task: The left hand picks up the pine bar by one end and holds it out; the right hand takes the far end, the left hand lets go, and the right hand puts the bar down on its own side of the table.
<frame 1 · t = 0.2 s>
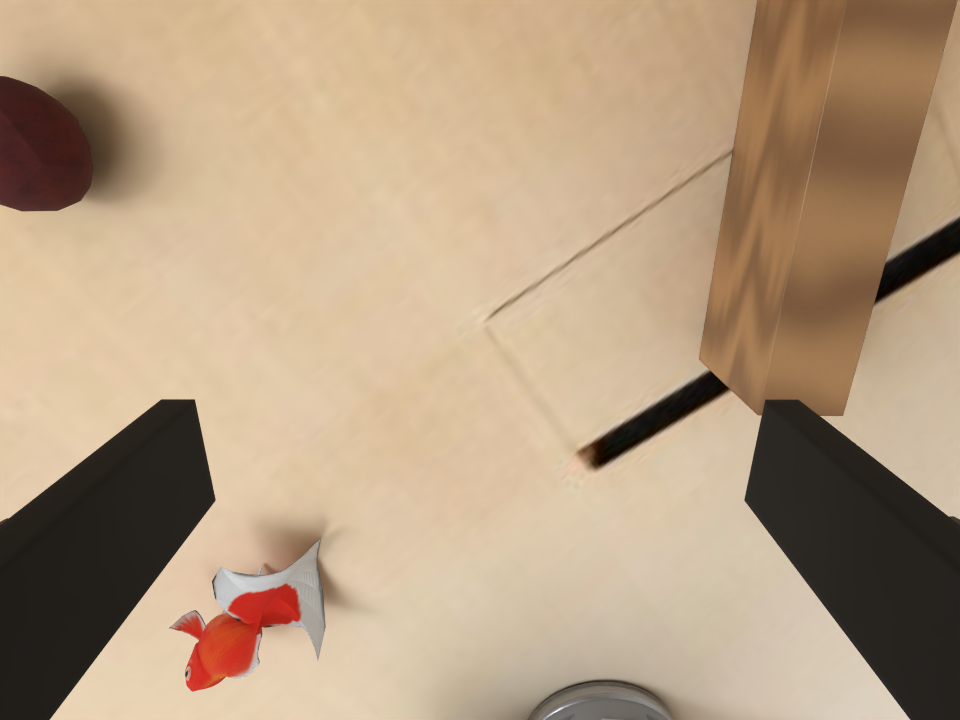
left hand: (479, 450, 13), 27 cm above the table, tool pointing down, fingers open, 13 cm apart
bar: (768, 164, 36), on the table
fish: (271, 576, 49), on the table
dark red round piece: (62, 149, 36), on the table
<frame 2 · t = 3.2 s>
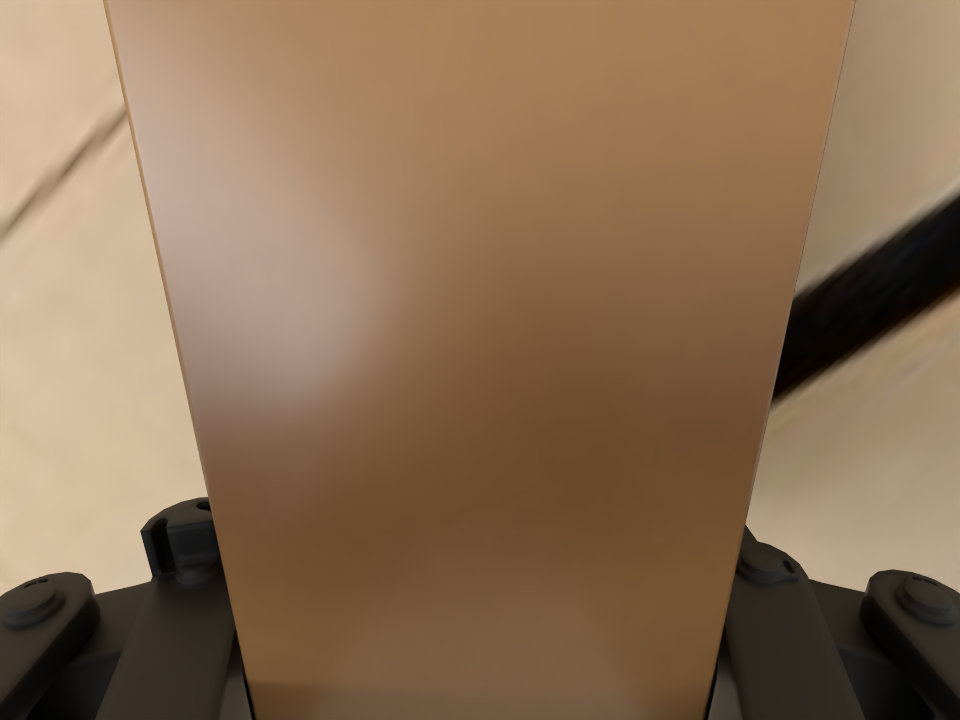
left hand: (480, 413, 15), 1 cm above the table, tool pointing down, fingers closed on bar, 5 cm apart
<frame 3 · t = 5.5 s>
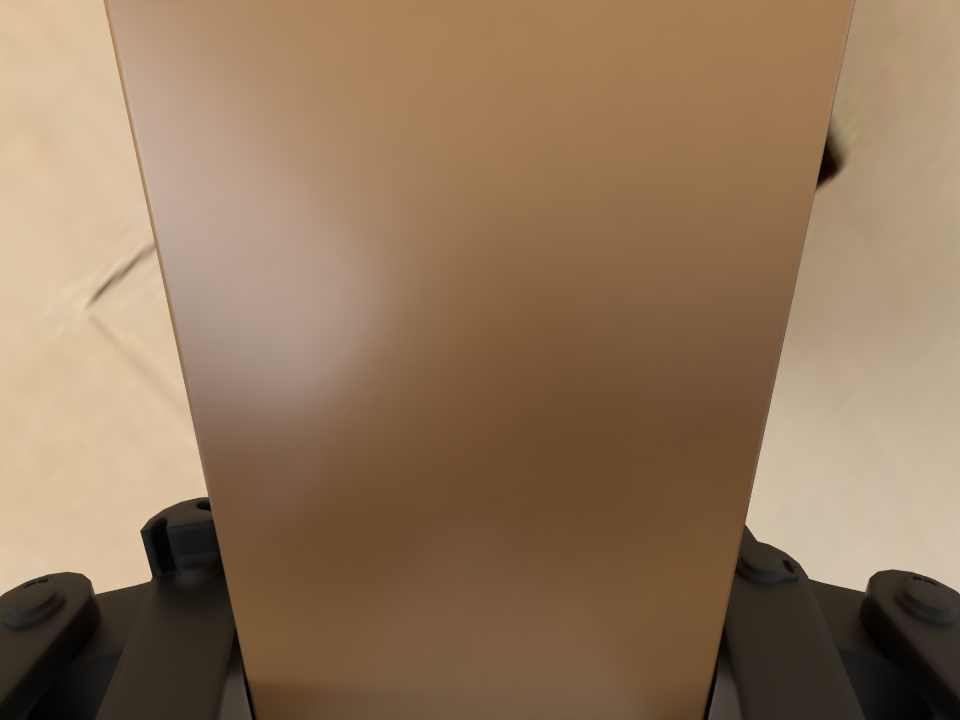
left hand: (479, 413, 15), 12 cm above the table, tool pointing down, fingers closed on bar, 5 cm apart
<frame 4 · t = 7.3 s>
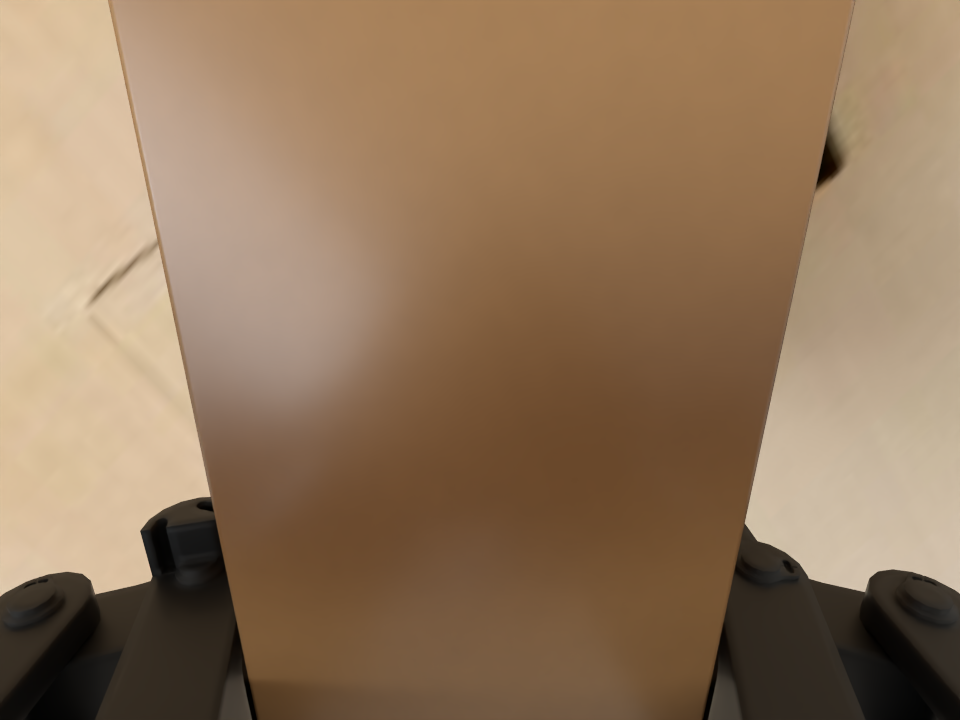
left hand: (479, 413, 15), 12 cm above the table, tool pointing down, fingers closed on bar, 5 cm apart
when the left hand's fingers open (12 cm above the table, at t = 8.1 s): bar stays where it is, held by the right hand.
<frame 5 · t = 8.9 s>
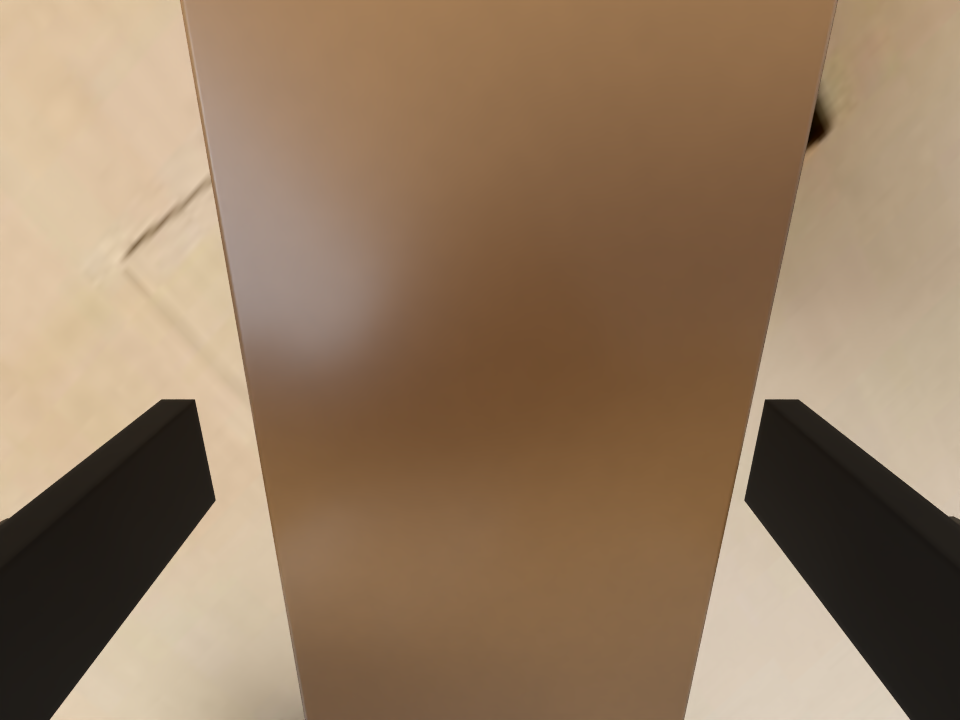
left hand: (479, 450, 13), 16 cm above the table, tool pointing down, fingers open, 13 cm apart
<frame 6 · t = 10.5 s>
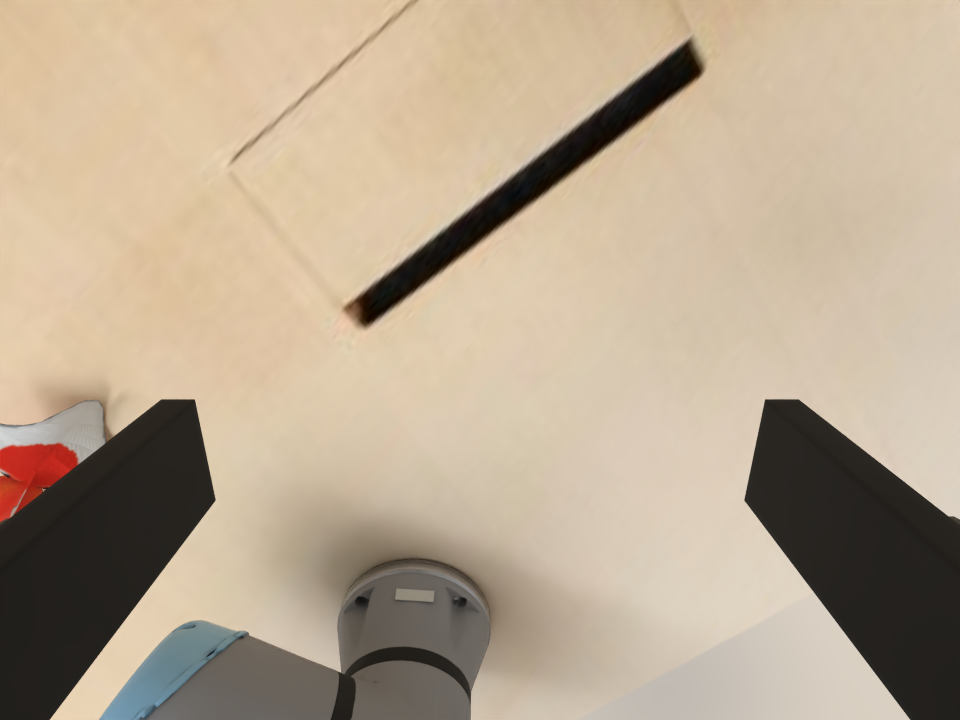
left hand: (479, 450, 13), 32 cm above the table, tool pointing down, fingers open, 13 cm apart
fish: (63, 447, 49), on the table
when the right hand's fingers open (7 cm above the table, at t = 14.2 s): bar drops 2 cm, on the table.
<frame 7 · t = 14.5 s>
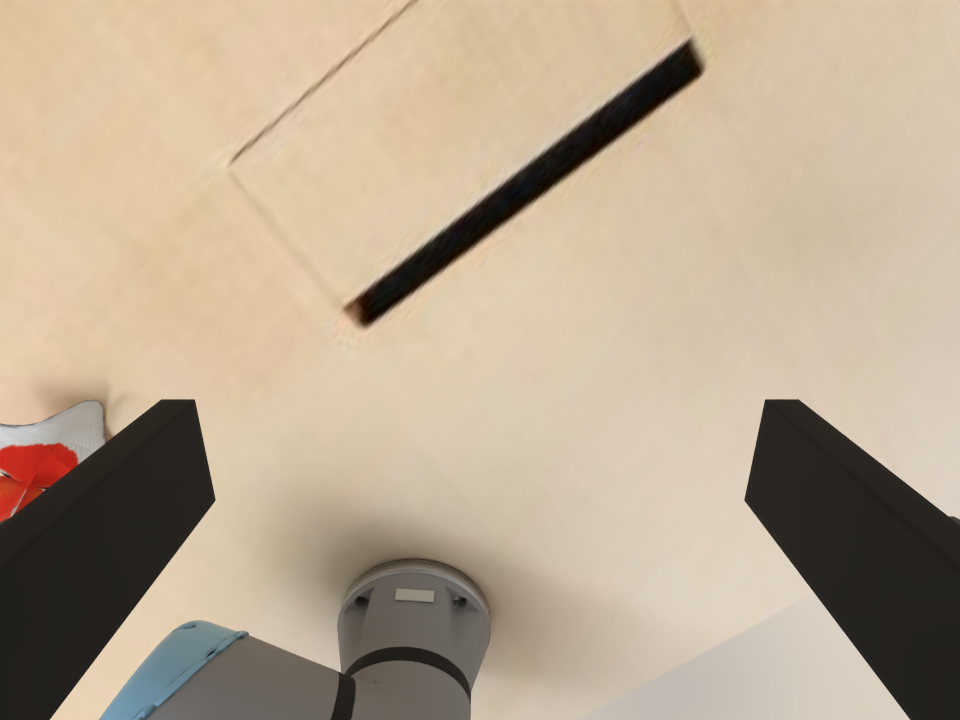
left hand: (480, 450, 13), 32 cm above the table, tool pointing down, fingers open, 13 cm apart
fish: (63, 447, 49), on the table
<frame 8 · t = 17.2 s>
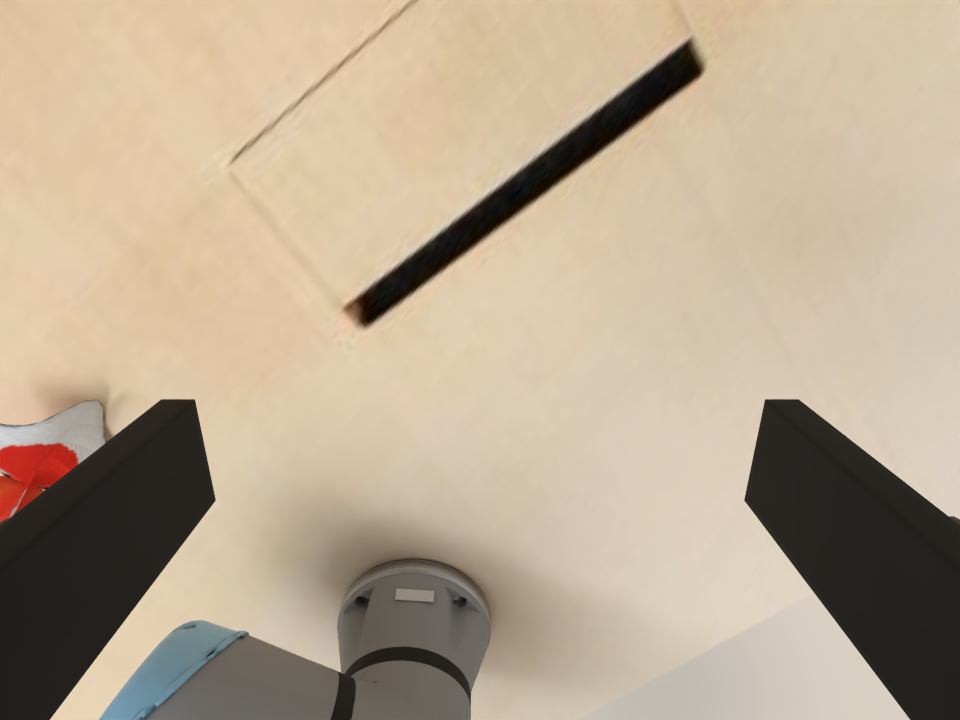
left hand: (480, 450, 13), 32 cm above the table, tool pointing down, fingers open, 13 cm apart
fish: (63, 447, 49), on the table
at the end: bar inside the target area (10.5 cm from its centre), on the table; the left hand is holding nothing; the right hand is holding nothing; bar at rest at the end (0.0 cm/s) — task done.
